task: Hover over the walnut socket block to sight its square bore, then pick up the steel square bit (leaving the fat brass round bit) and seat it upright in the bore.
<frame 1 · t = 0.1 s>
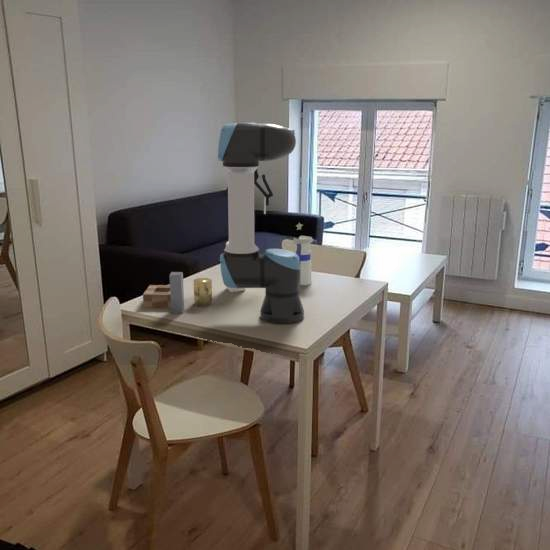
hand: (248, 213, 236), 28 cm above the table, fingers open, 13 cm apart
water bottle: (301, 283, 237), on the table
square bit: (177, 311, 201), on the table
socket block: (163, 302, 210), on the table
milk: (235, 289, 227), on the table
round bit: (203, 303, 209), on the table
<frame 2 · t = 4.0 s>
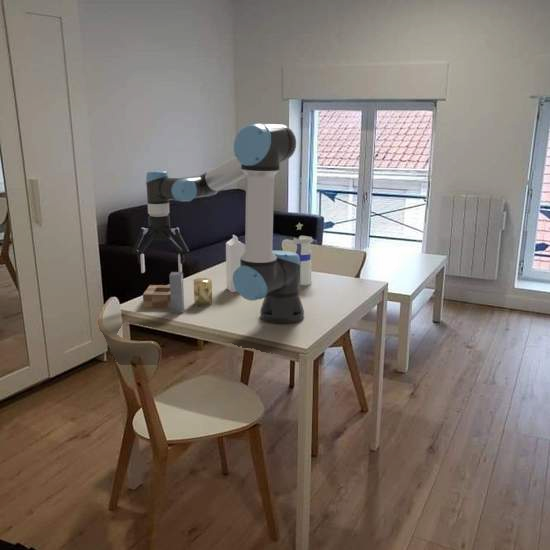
hand: (161, 272, 207), 12 cm above the table, fingers open, 13 cm apart
nothing on the table moved.
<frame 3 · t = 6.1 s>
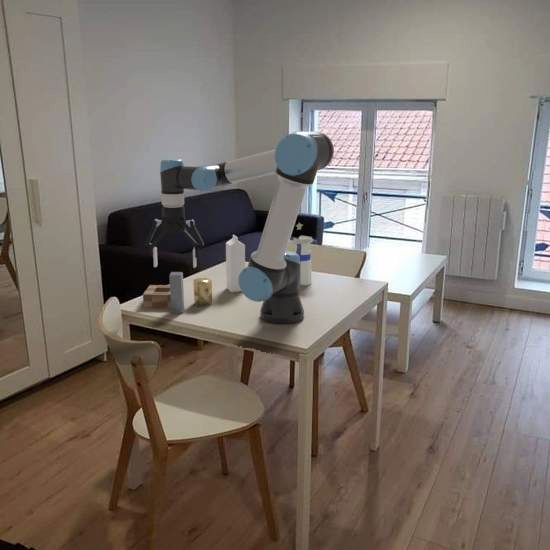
hand: (175, 266, 196), 16 cm above the table, fingers open, 13 cm apart
nothing on the table moved.
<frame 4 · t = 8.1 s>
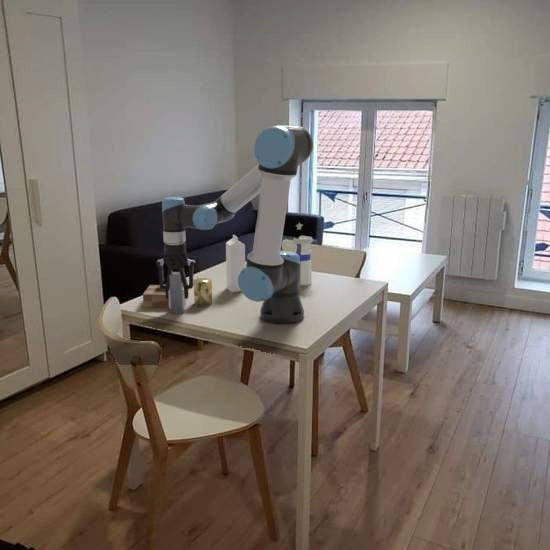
hand: (177, 307, 200), 2 cm above the table, fingers closed on square bit, 4 cm apart
square bit: (177, 311, 201), on the table, touching gripper
everything else where it was.
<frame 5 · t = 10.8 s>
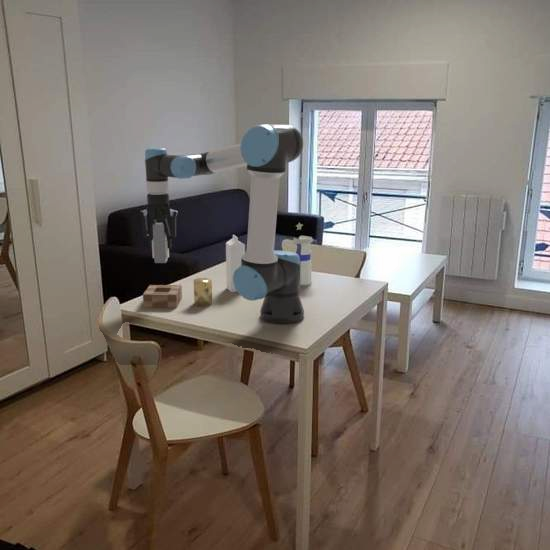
hand: (160, 257, 206), 17 cm above the table, fingers closed on square bit, 4 cm apart
square bit: (161, 261, 206), point 16 cm above the table, touching gripper
everything else where it was.
when the fingers open (6 cm above the table, at t = 13.4 s): square bit drops 4 cm, resting in socket block.
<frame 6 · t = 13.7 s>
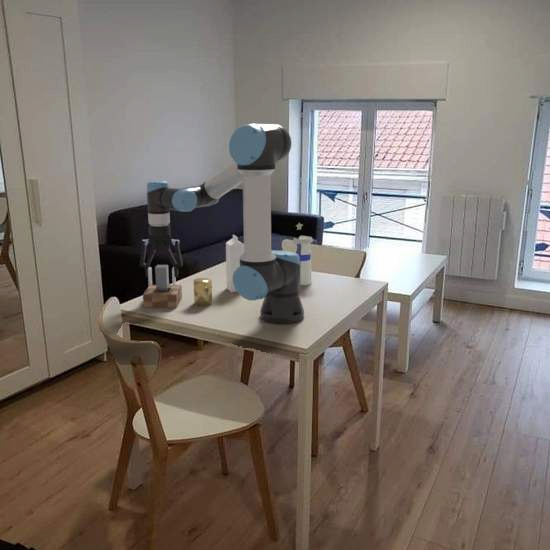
hand: (162, 285, 208), 7 cm above the table, fingers open, 8 cm apart
square bit: (163, 302, 210), resting in socket block
everything else where it was.
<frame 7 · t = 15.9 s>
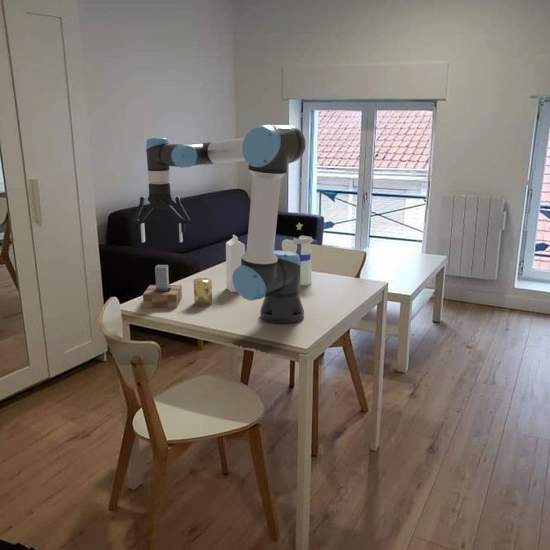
hand: (162, 241, 205), 23 cm above the table, fingers open, 13 cm apart
nothing on the table moved.
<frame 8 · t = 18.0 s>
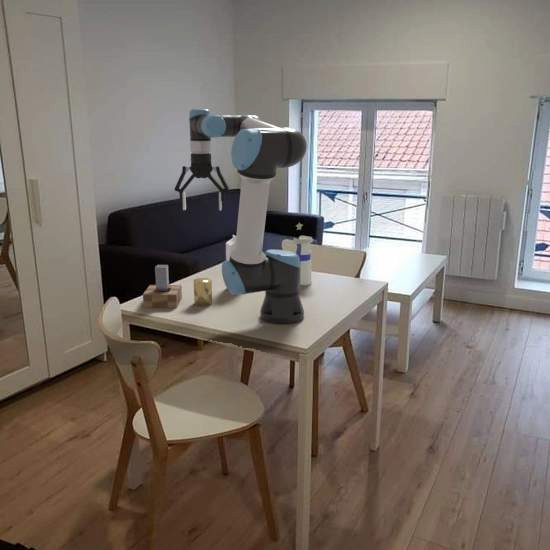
hand: (202, 209, 214), 33 cm above the table, fingers open, 13 cm apart
nothing on the table moved.
at the end: square bit 0.0 cm off-centre on the socket block, point 0.0 cm above the socket block's base; square bit tilted 0°; the gripper is holding nothing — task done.
